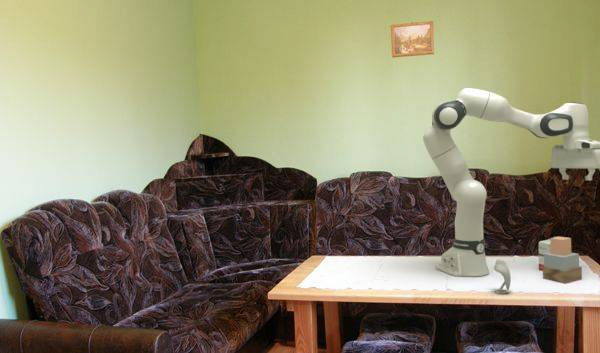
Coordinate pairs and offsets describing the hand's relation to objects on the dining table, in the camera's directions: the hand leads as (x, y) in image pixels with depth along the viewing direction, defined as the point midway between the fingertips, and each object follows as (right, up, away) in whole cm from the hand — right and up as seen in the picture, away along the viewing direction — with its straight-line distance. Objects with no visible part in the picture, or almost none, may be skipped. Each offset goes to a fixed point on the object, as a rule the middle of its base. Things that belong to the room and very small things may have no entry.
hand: (577, 180), depth 188 cm
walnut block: (-7, -38, -3) cm, 39 cm away
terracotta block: (-8, -28, -3) cm, 29 cm away
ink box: (-5, -37, +11) cm, 39 cm away
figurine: (-35, -40, -15) cm, 55 cm away
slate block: (-8, -33, -3) cm, 34 cm away
